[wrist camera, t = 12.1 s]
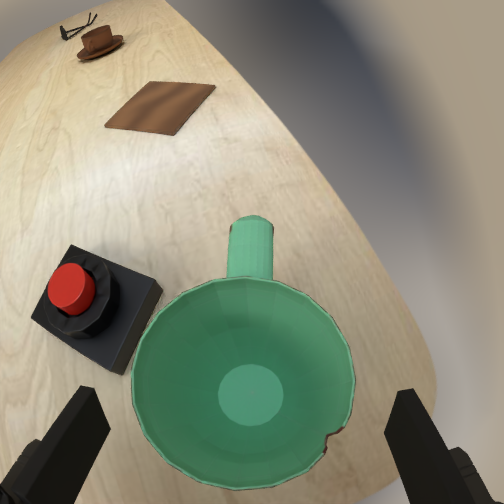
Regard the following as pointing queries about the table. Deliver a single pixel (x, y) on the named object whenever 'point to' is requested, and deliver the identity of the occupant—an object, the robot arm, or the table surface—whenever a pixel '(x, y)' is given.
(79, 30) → the sunglasses
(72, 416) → the robot arm
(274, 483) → the mug
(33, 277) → the table surface
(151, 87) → the brown pad
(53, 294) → the stop button
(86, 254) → the control block
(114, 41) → the cup and saucer
